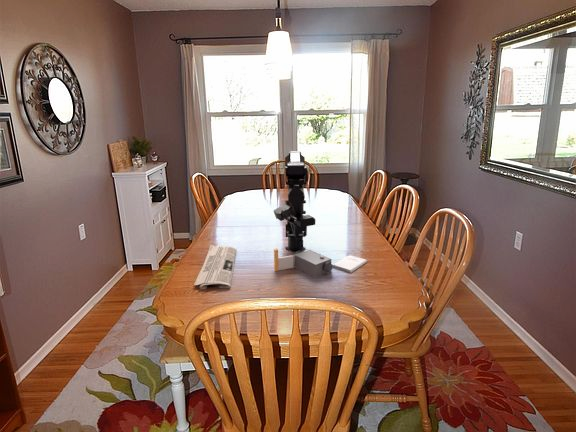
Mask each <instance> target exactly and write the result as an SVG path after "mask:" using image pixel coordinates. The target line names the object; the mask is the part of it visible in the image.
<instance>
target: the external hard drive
mask: <svg viewBox="0 0 576 432" xmlns="http://www.w3.org/2000/svg"><path fill="white" fill-rule="evenodd" d="M367 261H368V260H367V259H365V258H362V257H359V256H355V255H351V254H349V255H347V256H345V257H344V258H342V259H340V260H338V261H336V262H335V263H333V264H332V269H333V268H334V269H337V270H340V271H343V272H345V273H346V272H347V273H353V272H354V271H355V270H357V269H359V268H361V267H362V266H363V265H364V264H366V263H368V262H367Z"/></svg>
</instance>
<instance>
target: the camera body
mask: <svg viewBox="0 0 576 432" xmlns="http://www.w3.org/2000/svg"><path fill="white" fill-rule="evenodd" d="M294 255H295V268H296V269H298V270H299V271H302V272H304V273H306V274H308V275H309V276H312V277H314V278H317V277H320V276H322V275H326V274H327V273H330V272H332V270H333V267H332V265H333V264H332V258H330V257H328V256H327V255H326V256H325V255H324V254H321V253H319V252H316V251H314V250H312V249H308V250H305V251H302V252H299V253H296V254H294Z"/></svg>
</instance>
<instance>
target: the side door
mask: <svg viewBox="0 0 576 432" xmlns="http://www.w3.org/2000/svg"><path fill="white" fill-rule="evenodd" d="M273 260H274V263H273V264H274V265H273V266H274V267H273V268H274V271H275V272H278V271H283V270H287V269H288V270H289V269H294V268H296V267H295V254H292V255H286V256H280V257H279V249H278V247H277V248H274V249H273Z"/></svg>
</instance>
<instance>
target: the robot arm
mask: <svg viewBox="0 0 576 432" xmlns="http://www.w3.org/2000/svg"><path fill="white" fill-rule="evenodd" d="M284 172H285V173H284V174H285V175H284V179H285V180H284V181H285V182H284V183H285V186H287V199H286V200H285V203H284V204H283V205H281V206H278V207H277V208H275V209H274V210H273V213H274V217H275V219H276V220H279V222H283V221H285V220H286V223H285V238H287V242H288V243H287V246H285V249H286V250H288V251H291V252H292V253H297V252H300V251H303V250H306V247H305V246H304V238H306V237H307V236H308V227H311V226H315V225H316V218H315V217H313V216H312V215H310V214H306V213H307V211H306V210H305V209H304V207H305V206H304V204H306V203H307V200H306V199H305V191H304V190H305V189H304V188H305V187H304V186H305V185H306V186H307V183H309V169H308V167H307V166H306V163H305V156H303V155H302V152H301V151H299V150H290V151H288V154H287V155H286V156H285V157H284Z"/></svg>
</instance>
